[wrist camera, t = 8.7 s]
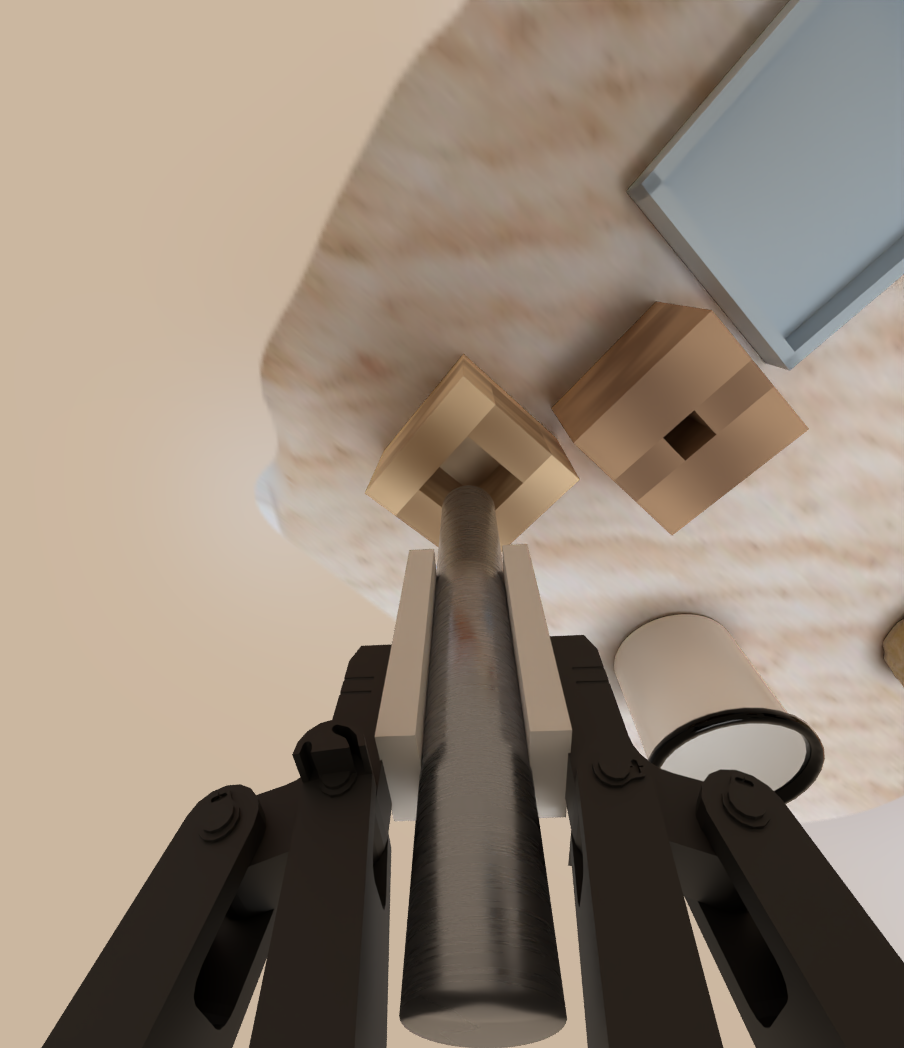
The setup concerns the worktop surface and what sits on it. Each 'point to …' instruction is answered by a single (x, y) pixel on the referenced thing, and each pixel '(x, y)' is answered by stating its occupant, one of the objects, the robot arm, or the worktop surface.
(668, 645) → the mug
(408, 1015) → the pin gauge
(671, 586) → the worktop surface
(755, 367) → the walnut block
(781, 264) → the tray
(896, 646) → the coral
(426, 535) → the oak block
